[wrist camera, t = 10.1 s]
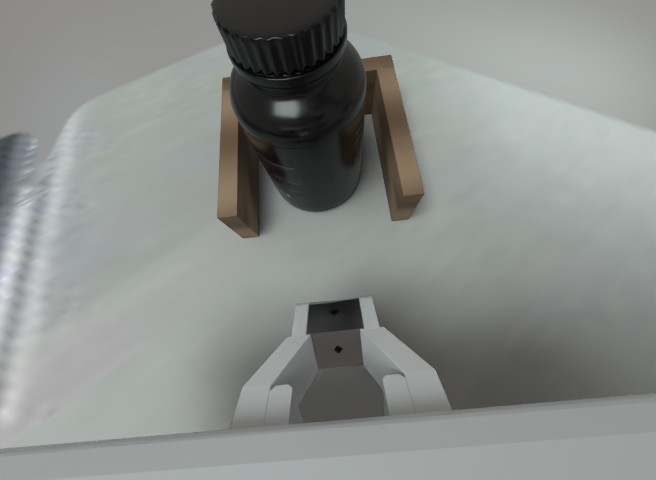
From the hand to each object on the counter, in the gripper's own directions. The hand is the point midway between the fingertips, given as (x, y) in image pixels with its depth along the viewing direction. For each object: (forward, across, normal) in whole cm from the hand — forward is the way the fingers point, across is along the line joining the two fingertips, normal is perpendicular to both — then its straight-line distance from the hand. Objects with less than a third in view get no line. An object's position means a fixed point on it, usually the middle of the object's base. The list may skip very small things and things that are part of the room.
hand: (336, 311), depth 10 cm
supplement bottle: (+13, +1, -2) cm, 13 cm away
